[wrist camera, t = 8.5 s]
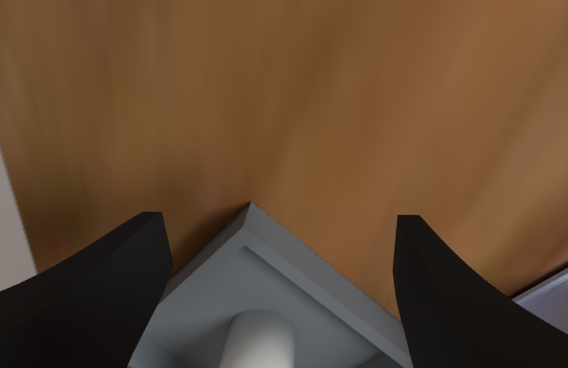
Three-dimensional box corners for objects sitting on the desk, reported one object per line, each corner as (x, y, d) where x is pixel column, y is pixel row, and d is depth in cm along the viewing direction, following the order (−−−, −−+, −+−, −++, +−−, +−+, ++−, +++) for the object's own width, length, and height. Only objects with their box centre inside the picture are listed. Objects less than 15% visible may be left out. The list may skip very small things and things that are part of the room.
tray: (416, 335, 27) (424, 369, 25) (273, 419, 33) (269, 452, 31) (251, 201, 23) (242, 226, 21) (123, 322, 29) (106, 352, 27)
